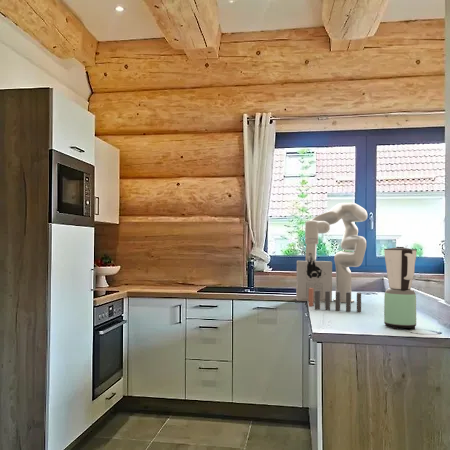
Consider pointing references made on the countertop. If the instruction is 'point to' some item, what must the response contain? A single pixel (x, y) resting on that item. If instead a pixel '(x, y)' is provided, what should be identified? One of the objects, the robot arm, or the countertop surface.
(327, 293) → the domino
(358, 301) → the domino
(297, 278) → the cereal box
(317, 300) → the domino
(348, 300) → the domino
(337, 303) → the domino
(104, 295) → the countertop surface
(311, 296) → the domino
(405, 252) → the juicer
